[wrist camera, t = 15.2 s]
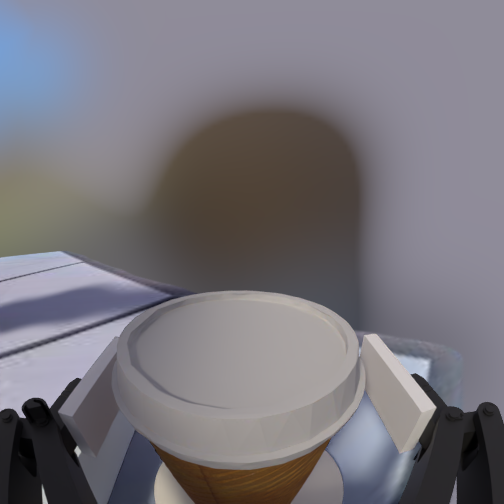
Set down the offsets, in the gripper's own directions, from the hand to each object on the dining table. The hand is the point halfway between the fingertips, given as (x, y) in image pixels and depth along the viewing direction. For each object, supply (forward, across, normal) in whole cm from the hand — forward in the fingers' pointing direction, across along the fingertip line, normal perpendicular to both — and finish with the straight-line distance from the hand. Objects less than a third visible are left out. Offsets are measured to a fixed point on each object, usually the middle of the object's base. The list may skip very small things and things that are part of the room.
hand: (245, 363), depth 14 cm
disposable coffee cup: (-4, 0, -8) cm, 9 cm away
